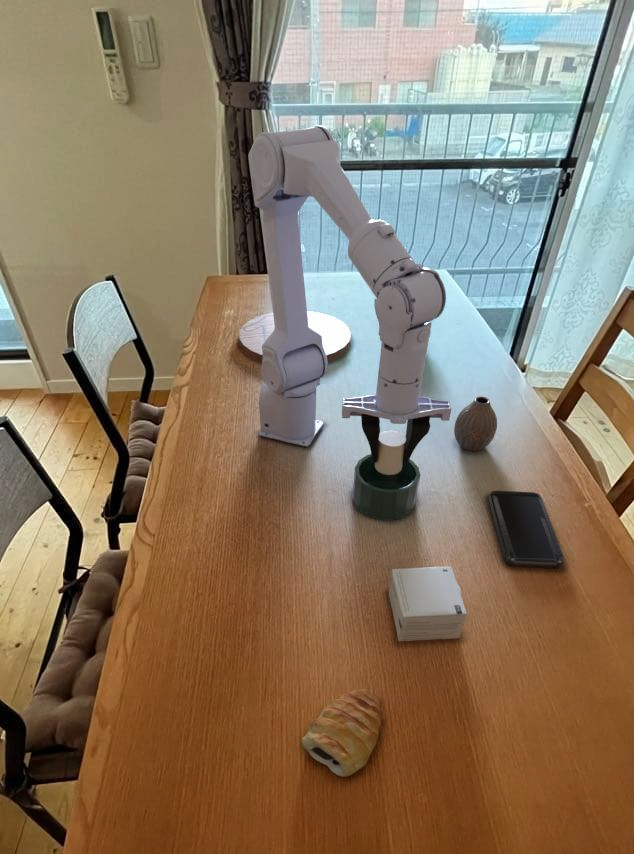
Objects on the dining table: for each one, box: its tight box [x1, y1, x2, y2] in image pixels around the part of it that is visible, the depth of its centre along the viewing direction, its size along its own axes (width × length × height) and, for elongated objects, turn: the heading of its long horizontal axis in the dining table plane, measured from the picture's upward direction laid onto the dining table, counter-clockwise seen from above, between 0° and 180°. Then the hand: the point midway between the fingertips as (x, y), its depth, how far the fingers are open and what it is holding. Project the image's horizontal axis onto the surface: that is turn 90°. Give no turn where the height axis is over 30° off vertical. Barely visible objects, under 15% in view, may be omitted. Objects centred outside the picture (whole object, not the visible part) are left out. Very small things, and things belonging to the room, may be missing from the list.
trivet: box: [238, 310, 352, 364], centre depth 124 cm, size 25×25×2 cm
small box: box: [388, 566, 468, 642], centre depth 68 cm, size 8×8×5 cm
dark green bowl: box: [352, 453, 421, 521], centre depth 84 cm, size 10×10×6 cm
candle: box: [375, 430, 406, 475], centre depth 80 cm, size 4×4×5 cm
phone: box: [488, 490, 565, 569], centre depth 81 cm, size 8×1×15 cm
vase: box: [453, 396, 498, 452], centre depth 94 cm, size 7×7×9 cm
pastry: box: [301, 688, 384, 778], centre depth 58 cm, size 9×7×4 cm
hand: (389, 459), depth 81 cm, fingers closed on candle, 4 cm apart
